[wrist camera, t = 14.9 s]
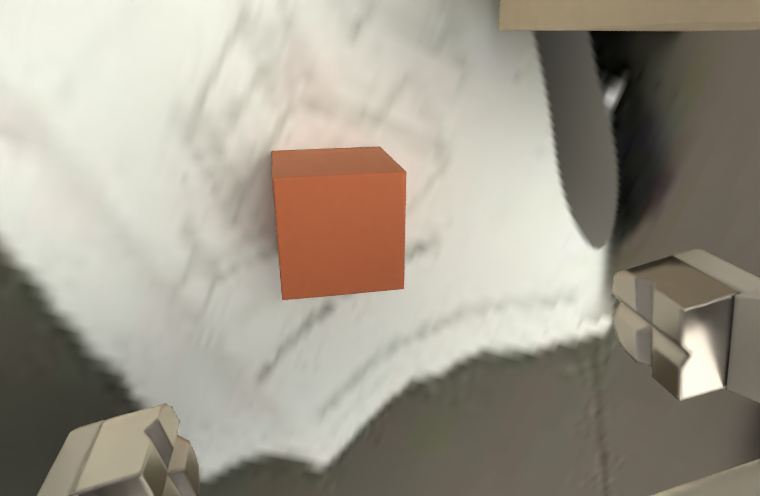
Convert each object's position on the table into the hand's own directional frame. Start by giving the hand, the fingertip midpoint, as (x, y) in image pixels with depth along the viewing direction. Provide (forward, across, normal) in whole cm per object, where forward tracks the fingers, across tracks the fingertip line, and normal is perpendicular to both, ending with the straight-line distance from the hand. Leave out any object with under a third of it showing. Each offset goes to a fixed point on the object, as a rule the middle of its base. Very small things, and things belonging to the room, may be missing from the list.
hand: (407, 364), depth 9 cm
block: (+11, 0, 0) cm, 11 cm away
